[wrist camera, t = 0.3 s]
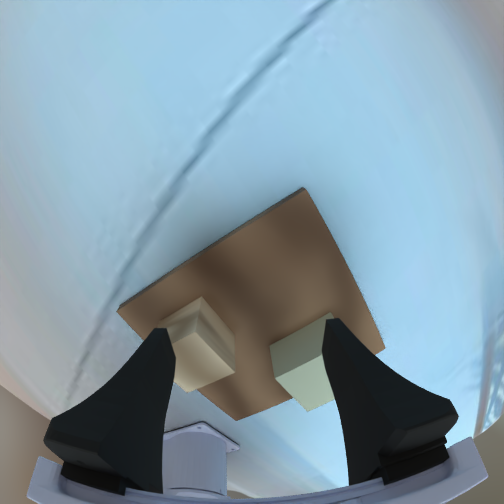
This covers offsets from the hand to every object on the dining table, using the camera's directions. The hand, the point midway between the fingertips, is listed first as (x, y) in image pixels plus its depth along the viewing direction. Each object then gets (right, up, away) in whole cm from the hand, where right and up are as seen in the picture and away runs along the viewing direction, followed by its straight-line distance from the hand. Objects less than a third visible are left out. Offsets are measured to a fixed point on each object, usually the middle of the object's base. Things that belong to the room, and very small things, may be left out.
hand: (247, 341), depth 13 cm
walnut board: (+1, -3, +12) cm, 13 cm away
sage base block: (+6, -5, +12) cm, 14 cm away
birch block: (-4, -2, +10) cm, 11 cm away
